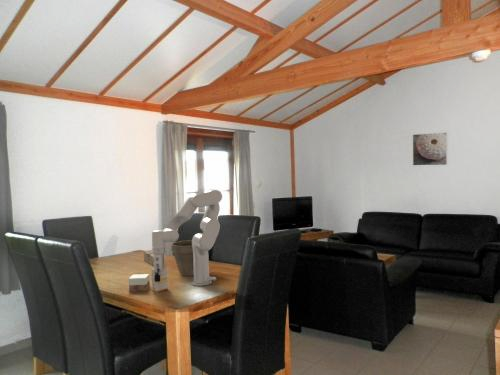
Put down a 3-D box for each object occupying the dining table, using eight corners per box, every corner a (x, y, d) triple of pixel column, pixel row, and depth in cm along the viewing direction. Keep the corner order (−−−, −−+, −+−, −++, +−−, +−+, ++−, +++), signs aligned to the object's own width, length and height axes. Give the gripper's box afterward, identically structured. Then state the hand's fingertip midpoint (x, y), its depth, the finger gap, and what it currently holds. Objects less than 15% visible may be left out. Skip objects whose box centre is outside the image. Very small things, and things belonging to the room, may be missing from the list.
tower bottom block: (149, 286, 247) (149, 280, 247) (146, 291, 237) (146, 284, 237) (133, 287, 246) (133, 280, 246) (129, 291, 236) (129, 285, 236)
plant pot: (169, 278, 266) (168, 246, 265) (174, 270, 290) (173, 240, 290) (207, 277, 267) (206, 245, 267) (208, 268, 292) (208, 239, 291)
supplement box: (162, 287, 243) (162, 266, 242) (167, 289, 240) (167, 267, 239) (151, 290, 236) (151, 269, 236) (156, 292, 233) (156, 270, 233)
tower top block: (149, 280, 247) (149, 274, 247) (145, 284, 237) (145, 278, 237) (132, 280, 246) (132, 274, 246) (128, 285, 236) (128, 278, 236)
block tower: (164, 266, 307) (152, 259, 332) (164, 256, 307) (152, 249, 332) (154, 268, 303) (143, 260, 328) (154, 257, 303) (143, 250, 328)
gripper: (162, 253, 229) (162, 283, 229) (167, 248, 246) (167, 276, 247) (149, 253, 229) (149, 283, 229) (155, 248, 246) (155, 276, 246)
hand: (158, 279), depth 238 cm, fingers open, 9 cm apart
